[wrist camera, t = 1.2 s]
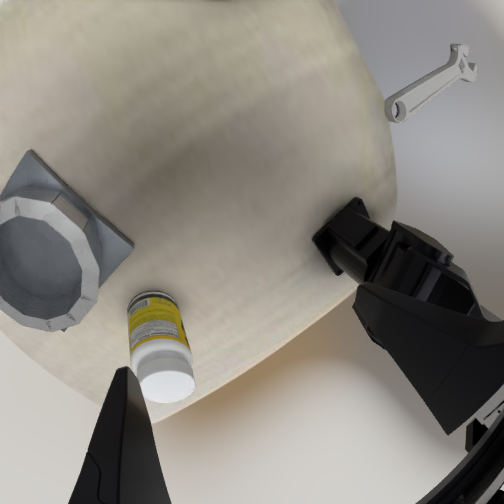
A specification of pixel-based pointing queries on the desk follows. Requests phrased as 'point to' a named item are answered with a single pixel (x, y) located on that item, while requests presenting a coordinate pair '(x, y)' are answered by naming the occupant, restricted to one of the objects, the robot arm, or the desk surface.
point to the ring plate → (52, 249)
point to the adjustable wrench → (430, 85)
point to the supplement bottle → (159, 348)
